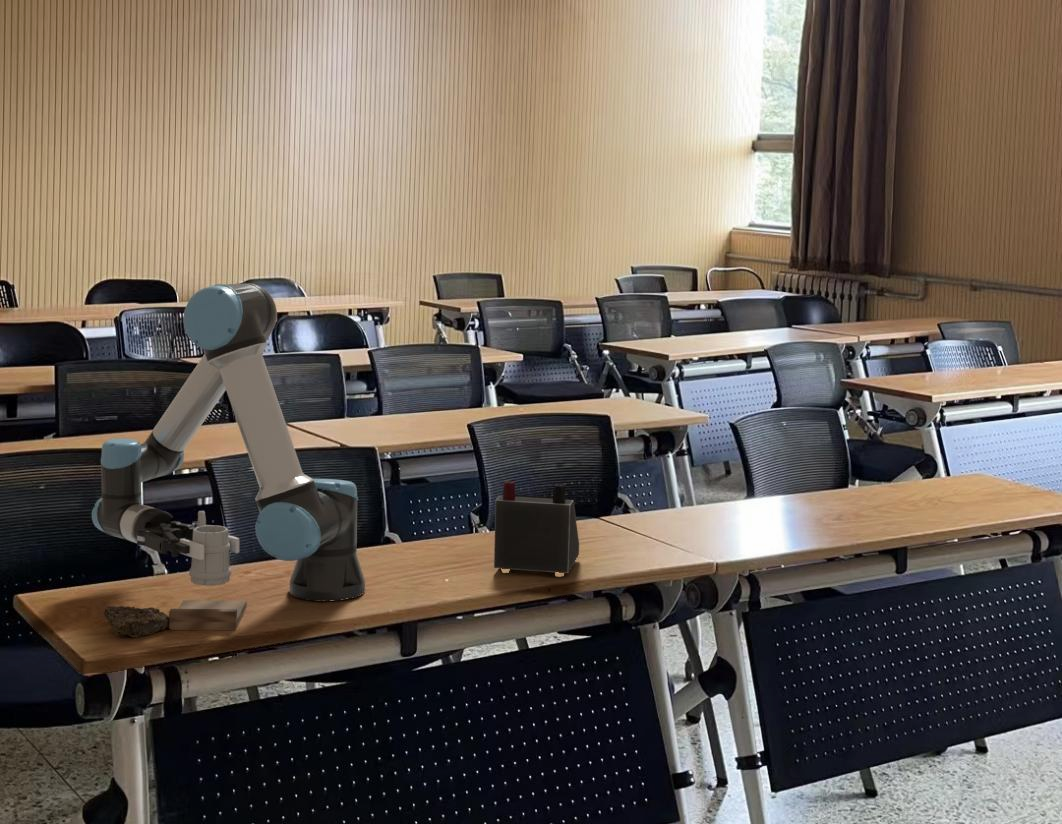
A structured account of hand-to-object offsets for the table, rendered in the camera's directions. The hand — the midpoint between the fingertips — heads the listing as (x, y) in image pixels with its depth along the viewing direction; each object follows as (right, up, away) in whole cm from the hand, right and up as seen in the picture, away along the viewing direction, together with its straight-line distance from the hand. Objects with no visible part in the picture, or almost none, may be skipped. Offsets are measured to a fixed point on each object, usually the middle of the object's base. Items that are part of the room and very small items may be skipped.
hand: (220, 549), depth 253 cm
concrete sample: (-14, -15, -3) cm, 21 cm away
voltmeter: (+59, -9, +49) cm, 77 cm away
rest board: (-3, -14, +5) cm, 15 cm away
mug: (-3, -6, +5) cm, 8 cm away
